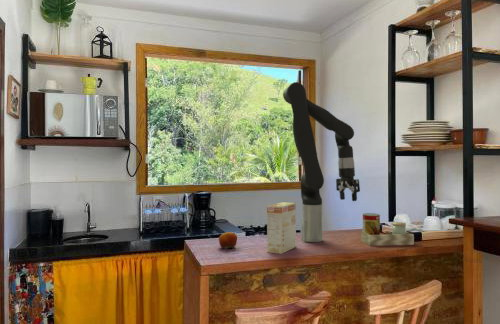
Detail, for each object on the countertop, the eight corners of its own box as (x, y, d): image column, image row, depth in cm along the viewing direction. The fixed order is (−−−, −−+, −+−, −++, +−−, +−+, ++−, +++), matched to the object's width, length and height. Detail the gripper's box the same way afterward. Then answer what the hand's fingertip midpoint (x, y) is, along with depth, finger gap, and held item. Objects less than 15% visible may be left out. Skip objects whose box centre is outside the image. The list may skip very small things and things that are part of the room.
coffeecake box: (282, 245, 166) (281, 201, 166) (296, 246, 162) (296, 202, 163) (266, 252, 153) (266, 205, 153) (281, 254, 150) (281, 206, 150)
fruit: (225, 248, 155) (221, 230, 158) (219, 254, 161) (215, 237, 164) (242, 246, 158) (238, 228, 162) (235, 252, 164) (231, 235, 168)
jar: (395, 243, 167) (395, 224, 167) (390, 241, 173) (390, 222, 173) (408, 243, 167) (408, 223, 167) (402, 241, 173) (402, 221, 173)
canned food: (382, 240, 174) (382, 215, 174) (365, 240, 174) (365, 215, 174) (376, 237, 182) (376, 213, 182) (360, 237, 182) (360, 213, 182)
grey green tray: (369, 245, 164) (369, 235, 164) (361, 240, 174) (361, 231, 174) (413, 244, 165) (413, 234, 165) (403, 240, 175) (403, 230, 175)
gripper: (331, 167, 184) (333, 199, 184) (350, 167, 171) (352, 202, 172) (342, 166, 187) (344, 198, 188) (362, 166, 175) (364, 200, 175)
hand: (348, 200), depth 180 cm, fingers open, 8 cm apart
